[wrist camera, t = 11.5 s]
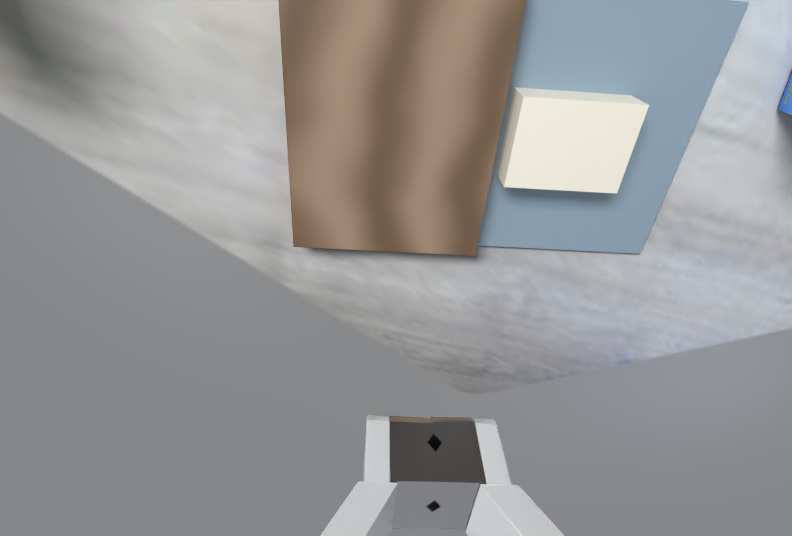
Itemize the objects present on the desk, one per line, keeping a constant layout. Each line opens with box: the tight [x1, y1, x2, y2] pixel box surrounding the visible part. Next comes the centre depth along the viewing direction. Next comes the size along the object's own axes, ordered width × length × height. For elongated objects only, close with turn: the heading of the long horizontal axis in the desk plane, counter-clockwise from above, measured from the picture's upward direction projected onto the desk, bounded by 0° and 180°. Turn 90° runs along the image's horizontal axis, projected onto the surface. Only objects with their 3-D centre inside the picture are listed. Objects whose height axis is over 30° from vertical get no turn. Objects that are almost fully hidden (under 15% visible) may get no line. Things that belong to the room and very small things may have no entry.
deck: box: [279, 0, 526, 256], centre depth 31 cm, size 14×18×2 cm
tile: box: [497, 87, 649, 194], centre depth 31 cm, size 8×6×2 cm
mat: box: [478, 0, 749, 254], centre depth 32 cm, size 14×18×1 cm
